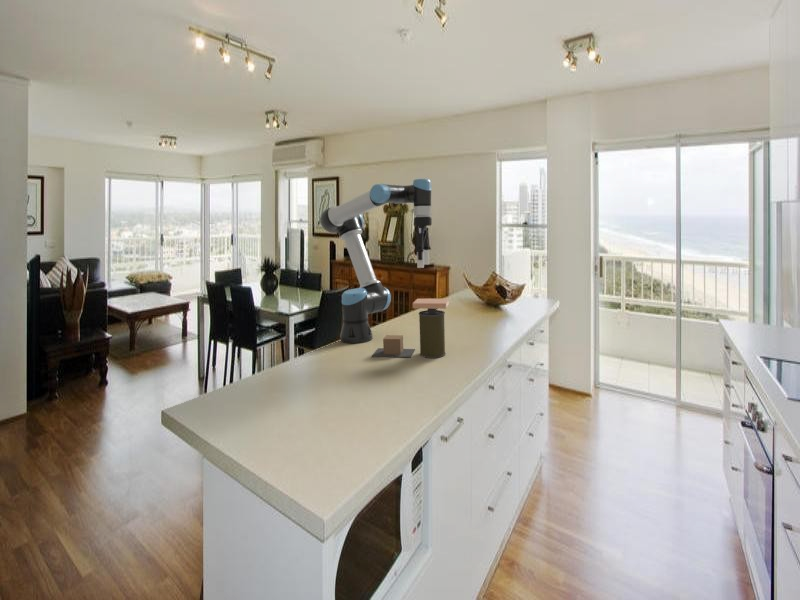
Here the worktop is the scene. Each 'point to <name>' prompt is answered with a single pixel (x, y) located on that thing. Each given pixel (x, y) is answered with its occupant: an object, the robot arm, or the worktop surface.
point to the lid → (431, 303)
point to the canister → (432, 333)
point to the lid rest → (393, 348)
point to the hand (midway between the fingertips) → (423, 266)
